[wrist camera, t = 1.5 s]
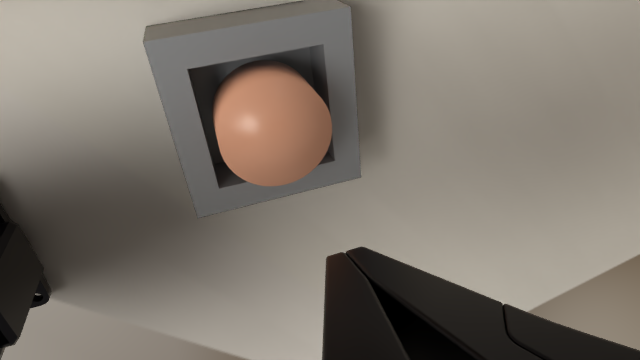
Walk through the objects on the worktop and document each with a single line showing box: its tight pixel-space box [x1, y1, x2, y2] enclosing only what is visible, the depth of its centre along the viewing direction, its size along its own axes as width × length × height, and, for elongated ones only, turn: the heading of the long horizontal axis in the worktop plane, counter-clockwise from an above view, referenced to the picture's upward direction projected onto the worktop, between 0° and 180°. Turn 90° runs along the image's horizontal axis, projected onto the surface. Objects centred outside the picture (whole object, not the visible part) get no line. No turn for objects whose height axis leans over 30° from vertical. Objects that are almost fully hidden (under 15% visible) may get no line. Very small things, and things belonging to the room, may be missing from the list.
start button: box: [212, 60, 332, 186], centre depth 16 cm, size 4×4×2 cm
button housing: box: [143, 0, 361, 218], centre depth 18 cm, size 7×7×2 cm
